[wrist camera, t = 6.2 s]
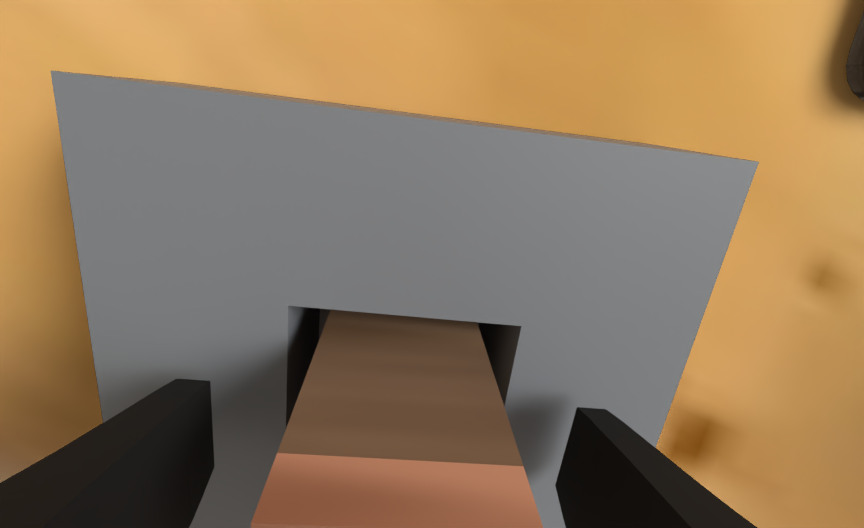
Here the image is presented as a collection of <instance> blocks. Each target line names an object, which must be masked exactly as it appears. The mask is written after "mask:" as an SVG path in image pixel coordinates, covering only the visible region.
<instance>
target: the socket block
mask: <svg viewBox="0 0 864 528" xmlns="http://www.w3.org/2000/svg"><path fill="white" fill-rule="evenodd" d="M51 76H52V83H53V90H54V96H55V103H56V110H57V116H58V123H59V130H60V137H61V143H62V150H63V157H64V163H65V170H66V177H67V184H68V190H69V197H70V204H71V210H72V217H73V224H74V231H75V237H76V244H77V251H78V257H79V264H80V271H81V278H82V284H83V291H84V298H85V304H86V311H87V318H88V325H89V331H90V338H91V345H92V351H93V358H94V365H95V372H96V378H97V385H98V392H99V398H100V405H101V412H102V419H103V423H104V422H106V421H107V420H109V419H110V418H112V417H114V416H115V415H117V414H119V413H120V412H122V411H123V410H125V409H127V408H128V407H130V406H131V405H133V404H135V403H136V402H138V401H139V400H141V399H143V398H144V397H146V396H148V395H149V394H151V393H153V392H154V391H156V390H157V389H159V388H161V387H163V386H164V385H166V384H168V383H170V382H171V381H173V380H175V379H191V380H205V381H210V385H211V406H212V426H213V446H214V469H213V472H212V474H211V477H210V479H209V482H208V484H207V487H206V489H205V492H204V494H203V497H202V499H201V502H200V504H199V506H198V509H197V511H196V514H195V516H194V518H193V521H192V523H191V525H190V527H189V528H251V522H252V519H253V516H254V514H255V511H256V508H257V506H258V503H259V500H260V498H261V495H262V492H263V489H264V487H265V484H266V481H267V479H268V476H269V473H270V471H271V468H272V465H273V463H274V460H275V457H276V455H277V452H278V449H279V447H280V444H281V441H282V439H283V436H284V433H285V430H286V428H287V425H288V422H289V420H290V417H291V414H292V412H293V409H294V406H295V404H296V401H297V398H298V396H299V393H300V390H301V388H302V385H303V382H304V380H305V377H306V374H307V371H308V369H309V366H310V363H311V361H312V358H313V355H314V353H315V350H316V347H317V345H318V342H319V339H320V337H321V334H322V331H323V329H324V326H325V323H326V321H327V318H328V315H329V312H330V310H343V311H354V312H365V313H377V314H388V315H400V316H411V317H422V318H434V319H445V320H457V321H468V322H477V323H478V326H479V330H480V333H481V336H482V339H483V342H484V345H485V348H486V351H487V354H488V358H489V361H490V364H491V367H492V370H493V373H494V376H495V379H496V382H497V385H498V389H499V392H500V395H501V398H502V401H503V404H504V407H505V410H506V413H507V417H508V420H509V423H510V426H511V429H512V432H513V435H514V438H515V441H516V444H517V448H518V451H519V454H520V457H521V460H522V463H523V466H524V469H525V472H526V476H527V479H528V482H529V485H530V488H531V491H532V494H533V497H534V500H535V503H536V507H537V510H538V513H539V516H540V519H541V522H542V525H543V528H566V526H565V523H564V519H563V515H562V511H561V507H560V503H559V499H558V494H557V490H556V486H555V484H556V481H557V477H558V473H559V470H560V466H561V463H562V459H563V455H564V452H565V448H566V445H567V441H568V438H569V434H570V430H571V427H572V423H573V420H574V416H575V412H576V409H577V407H583V408H597V409H606V410H608V411H609V412H610V413H612V414H613V415H615V416H616V417H617V418H619V419H620V420H621V421H623V422H624V423H625V424H626V425H628V426H629V427H630V428H631V429H633V430H634V431H635V432H636V433H638V434H639V435H640V436H641V437H643V438H644V439H645V440H646V441H648V442H649V443H650V444H651V445H652V446H654V447H656V445H657V442H658V439H659V436H660V434H661V431H662V428H663V425H664V423H665V420H666V417H667V414H668V412H669V409H670V406H671V403H672V400H673V398H674V395H675V392H676V389H677V387H678V384H679V381H680V378H681V376H682V373H683V370H684V367H685V365H686V362H687V359H688V356H689V354H690V351H691V348H692V345H693V342H694V340H695V337H696V334H697V331H698V329H699V326H700V323H701V320H702V318H703V315H704V312H705V309H706V307H707V304H708V301H709V298H710V296H711V293H712V290H713V287H714V284H715V282H716V279H717V276H718V273H719V271H720V268H721V265H722V262H723V260H724V257H725V254H726V251H727V249H728V246H729V243H730V240H731V238H732V235H733V232H734V229H735V226H736V224H737V221H738V218H739V215H740V213H741V210H742V207H743V204H744V202H745V199H746V196H747V193H748V191H749V188H750V185H751V182H752V180H753V177H754V174H755V171H756V168H757V166H758V163H759V162H756V161H750V160H744V159H738V158H731V157H725V156H719V155H713V154H707V153H701V152H695V151H689V150H682V149H676V148H670V147H664V146H658V145H652V144H645V143H638V142H630V141H622V140H615V139H607V138H599V137H592V136H584V135H576V134H568V133H561V132H553V131H545V130H538V129H530V128H522V127H515V126H507V125H499V124H491V123H484V122H476V121H468V120H461V119H453V118H445V117H437V116H430V115H422V114H414V113H407V112H399V111H391V110H384V109H376V108H368V107H360V106H353V105H345V104H337V103H330V102H322V101H314V100H307V99H299V98H291V97H283V96H276V95H268V94H260V93H253V92H245V91H237V90H229V89H222V88H214V87H206V86H199V85H191V84H183V83H175V82H165V81H154V80H144V79H133V78H123V77H112V76H102V75H91V74H81V73H70V72H60V71H51Z"/></svg>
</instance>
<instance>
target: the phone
mask: <svg viewBox="0 0 864 528" xmlns="http://www.w3.org/2000/svg"><path fill="white" fill-rule="evenodd" d="M846 70H847V81H848V83H849V85H850V87H851V90H852V92H853V93H854V94H856V95H857V96H858V97H859V98H860V99H861V100H864V12H863V15H862V17H861V20H860V23H859V26H858V29H857V32H856V34H855V37H854V40H853V43H852V46H851V48H850V52H849V56H848V61H847V65H846Z"/></svg>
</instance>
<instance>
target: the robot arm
mask: <svg viewBox="0 0 864 528" xmlns="http://www.w3.org/2000/svg"><path fill="white" fill-rule="evenodd" d="M213 469H214V446H213V426H212V406H211V385H210V381H205V380H191V379H175V380H173V381H171V382H170V383H168V384H166V385H164V386H163V387H161V388H159V389H157V390H156V391H154V392H153V393H151V394H149V395H148V396H146V397H144V398H143V399H141V400H139V401H138V402H136V403H135V404H133V405H131V406H130V407H128V408H127V409H125V410H123V411H122V412H120V413H119V414H117V415H115V416H114V417H112V418H110V419H109V420H107V421H106V422H104V423H102V424H101V425H99V426H97V427H96V428H94V429H92V430H91V431H89V432H87V433H86V434H84V435H82V436H81V437H79V438H78V439H76V440H74V441H73V442H71V443H69V444H68V445H66V446H64V447H63V448H61V449H59V450H58V451H56V452H54V453H53V454H51V455H49V456H47V457H45V458H44V459H42V460H40V461H38V462H37V463H35V464H33V465H31V466H30V467H28V468H26V469H24V470H22V471H21V472H19V473H17V474H15V475H14V476H12V477H10V478H8V479H7V480H5V481H3V482H1V483H0V528H189V527H190V525H191V523H192V521H193V518H194V516H195V514H196V511H197V509H198V506H199V504H200V502H201V499H202V497H203V494H204V492H205V489H206V487H207V484H208V482H209V479H210V477H211V474H212V472H213ZM555 486H556V490H557V494H558V499H559V503H560V507H561V511H562V515H563V519H564V523H565V526H566V528H757V527H756V526H754V525H753V524H752V523H750V522H749V521H747V520H746V519H745V518H743V517H742V516H741V515H739V514H738V513H737V512H735V511H734V510H733V509H731V508H730V507H729V506H728V505H726V504H725V503H724V502H722V501H721V500H720V499H718V498H717V497H716V496H715V495H713V494H712V493H711V492H710V491H708V490H707V489H706V488H704V487H703V486H702V485H701V484H699V483H698V482H697V481H696V480H694V479H693V478H692V477H691V476H689V475H688V474H687V473H686V472H684V471H683V470H682V469H681V468H679V467H678V466H677V465H676V464H675V463H673V462H672V461H671V460H670V459H668V458H667V457H666V456H665V455H663V454H662V453H661V452H660V451H659V450H657V449H656V448H655V447H654V446H652V445H651V444H650V443H649V442H648V441H646V440H645V439H644V438H643V437H641V436H640V435H639V434H638V433H636V432H635V431H634V430H633V429H631V428H630V427H629V426H628V425H626V424H625V423H624V422H623V421H621V420H620V419H619V418H617V417H616V416H615V415H613V414H612V413H610V412H609V411H608V410H606V409H597V408H583V407H577V409H576V412H575V416H574V420H573V423H572V427H571V430H570V434H569V438H568V441H567V445H566V448H565V452H564V455H563V459H562V463H561V466H560V470H559V473H558V477H557V481H556V484H555Z"/></svg>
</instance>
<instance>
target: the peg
mask: <svg viewBox="0 0 864 528" xmlns="http://www.w3.org/2000/svg"><path fill="white" fill-rule="evenodd" d="M251 528H543V525H542V522H541V519H540V516H539V513H538V510H537V507H536V503H535V500H534V497H533V494H532V491H531V488H530V485H529V482H528V479H527V476H526V472H525V469H524V466H523V463H522V460H521V457H520V454H519V451H518V448H517V444H516V441H515V438H514V435H513V432H512V429H511V426H510V423H509V420H508V417H507V413H506V410H505V407H504V404H503V401H502V398H501V395H500V392H499V389H498V385H497V382H496V379H495V376H494V373H493V370H492V367H491V364H490V361H489V358H488V354H487V351H486V348H485V345H484V342H483V339H482V336H481V333H480V330H479V326H478V323H477V322H468V321H457V320H445V319H434V318H422V317H411V316H400V315H388V314H377V313H365V312H354V311H343V310H330V312H329V315H328V318H327V321H326V323H325V326H324V329H323V331H322V334H321V337H320V339H319V342H318V345H317V347H316V350H315V353H314V355H313V358H312V361H311V363H310V366H309V369H308V371H307V374H306V377H305V380H304V382H303V385H302V388H301V390H300V393H299V396H298V398H297V401H296V404H295V406H294V409H293V412H292V414H291V417H290V420H289V422H288V425H287V428H286V430H285V433H284V436H283V439H282V441H281V444H280V447H279V449H278V452H277V455H276V457H275V460H274V463H273V465H272V468H271V471H270V473H269V476H268V479H267V481H266V484H265V487H264V489H263V492H262V495H261V498H260V500H259V503H258V506H257V508H256V511H255V514H254V516H253V519H252V522H251Z"/></svg>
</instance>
